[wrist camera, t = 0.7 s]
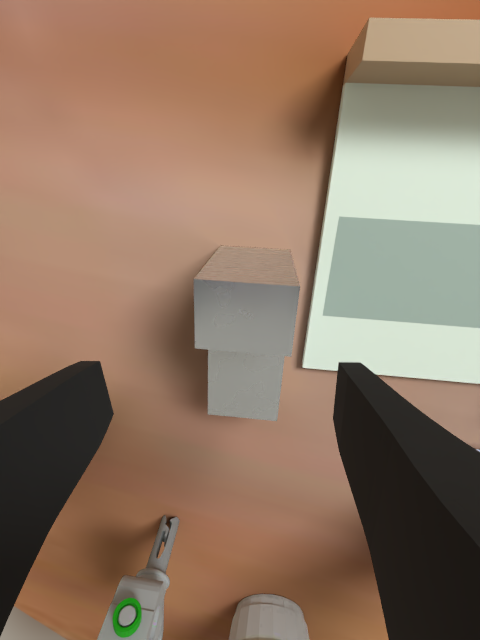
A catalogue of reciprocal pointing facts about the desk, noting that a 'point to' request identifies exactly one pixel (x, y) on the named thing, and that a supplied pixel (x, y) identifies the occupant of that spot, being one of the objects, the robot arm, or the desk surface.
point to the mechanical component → (142, 595)
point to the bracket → (246, 327)
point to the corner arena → (403, 207)
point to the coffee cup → (268, 619)
